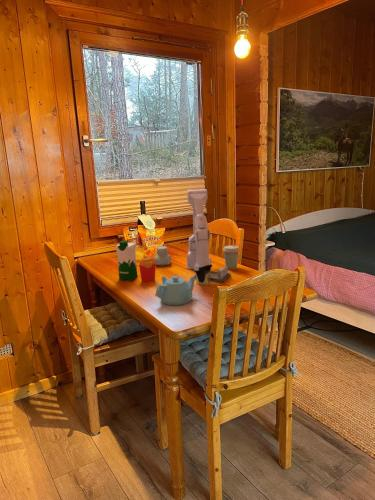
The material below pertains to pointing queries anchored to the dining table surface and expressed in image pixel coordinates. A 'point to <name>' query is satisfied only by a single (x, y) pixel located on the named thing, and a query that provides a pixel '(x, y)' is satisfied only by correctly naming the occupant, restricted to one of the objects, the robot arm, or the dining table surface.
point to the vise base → (215, 277)
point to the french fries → (147, 269)
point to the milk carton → (126, 260)
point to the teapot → (175, 290)
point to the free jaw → (222, 272)
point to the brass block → (205, 278)
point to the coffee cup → (231, 256)
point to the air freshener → (162, 256)
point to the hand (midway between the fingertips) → (203, 280)
